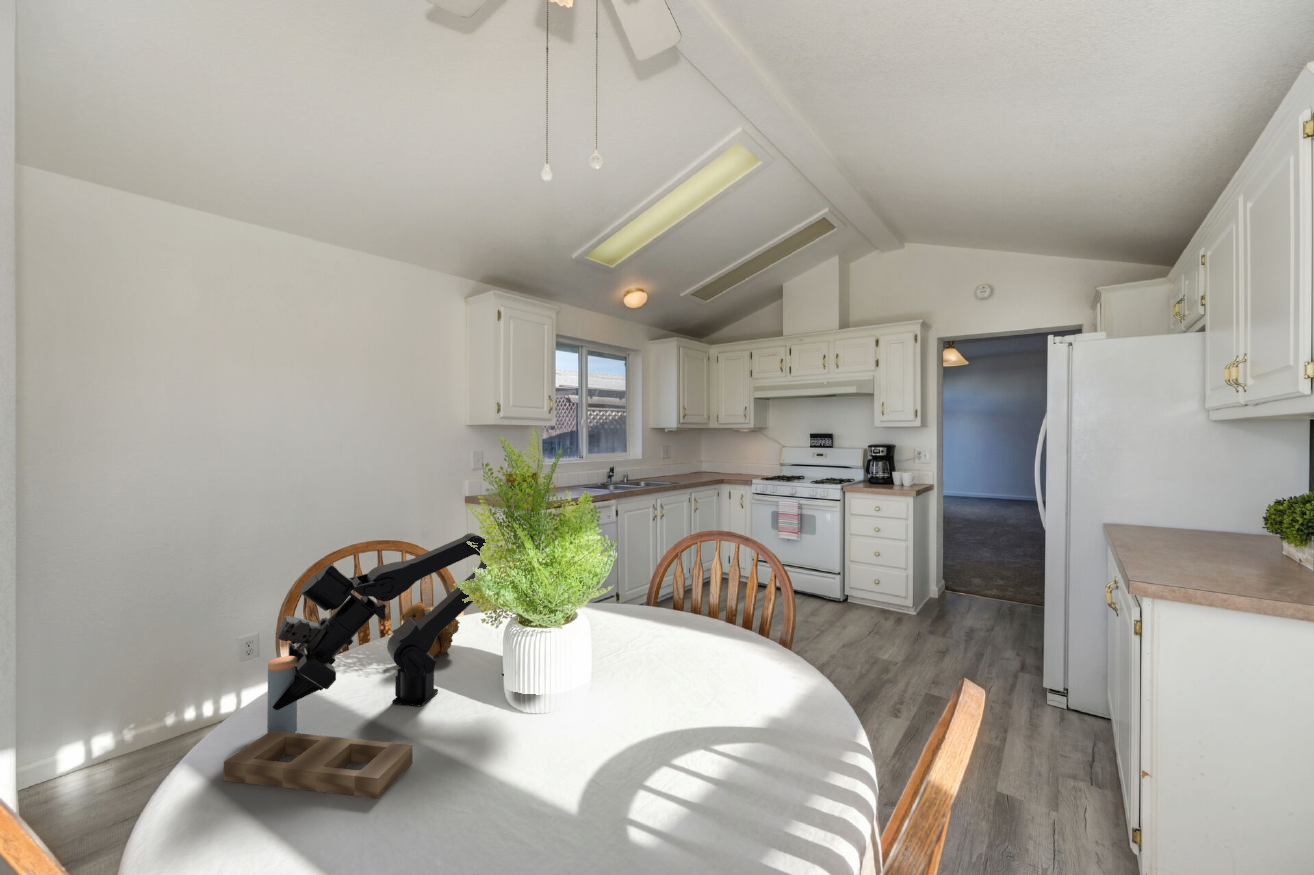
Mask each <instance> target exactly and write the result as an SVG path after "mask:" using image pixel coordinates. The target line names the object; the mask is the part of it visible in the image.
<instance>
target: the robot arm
mask: <svg viewBox="0 0 1314 875" xmlns="http://www.w3.org/2000/svg"><path fill="white" fill-rule="evenodd" d="M485 539H486V538H483V537H481V536H480V535H478V534H476V533H473V532H470V533H466V534H465V535H463V536H462V537H459V538H458V539H456V540H453V541H450V542H448V543H446V544H443V545H440V546H439V547H437V548H434V549H432V550H429V551H427V552H425V553H423V554H421V555H418V556H416V557H414V558H411V559H408V560H401V561H394V562H390V563H386V564H382V565H377V566H376V567H374V568H372V569H371V570H369V571H368V573H364V574H361V575H357V576H352V577H347V576H346V575H344V574H343V573H342V572H340V570H338V568H337V567H336V566H335V565H333V564H332V563H328V564H327V565H326V567H324V568H322V569H320V570H319V571H317V572H316V573H313V574H312V575H311V577H309V578H308V579H306V582H305V583H304V584H303V585H302V586H301V588H300V590H299V594H300V595H301V596H303V597H304V598H305V599H307V600H309V601H310V602H311V603H313V604H314V605H316V606H317V607H319V608H320V609H321V610H323V611H325V612H327V611H328V610H329V611H330V610H331V611H334V612H333V613H332V615H330V616H329V618H328V617H323V618H321V619H320V620H319V621H318V622H315V621H311V620H309V619H308V620H307V619H304V618H301V617H300V618H299V617H295V616H292V615H285V617H284V618H283V621H282V622H281V625H280V626H279V628H278V630H277V632H276V634H277V639H278V640H280V641H283V642H288V644H287V645H288V648H287V649H288V656H295V657H297V667H296V666H295V665H294V675H293V679H292V680H291V682H290V683H289V684H288V686H287V687H286V688H285V690H284V691H283V692H282V694H281V695H280V696H279V698H278V699H277V700H276V702H275V703H274V705H273V706H272V708H273V709H275V710H279V709H281V708H283V707H285V706H287V705H289V704H291V703H293V702H295V701H297V702H298V700H301V699H303V698H305V697H308V696H309V695H311V694H314V693H316V692H318V691H322V690H324V689H325V690H328V689H329V688H330V687H331V686H332V685H333V684H334V683H335V682H336V680H337V672H336V669H335V667H334V665H333V664H334V663H335V662H336V661H337V660H336V656H337V654H339V652H341V651H342V649H343V648H344V647H345V646H346V645H347V646H348V647H349V646H351V645H352V643H354V639H353V638H354V637H355V636H356V635H357V633H358V632H359V631H360V630H361V629H362V628H363V627H364V626H365V625H366V624H367V623H368V622H369V621H370V620H371V619H372V618H373V617H374V616H377V617H378V618H379V619H380V620H383V621H384V620H385V619H386V618H387V617H386V609H387V608H386V607H387V604H386V602H389V601H393V600H394V599H396V598H397V597H399V596H401V594H403V593H405V592H407V590H409V589H410V588H411V587H413V585H414V584H416V583H417V582H418V581H420V580H421V579H423V578H425V577H428V576H429V575H433V574H434V573H437V572H438V571H441V570H442V569H443V570H444V568H447V567H449V566H451V565H453V564H456V563H459V562H460V561H462V560H465V559H466V558H470V557H471V556H473V555H477V556H479V557H481V556H480V553H479V552H478V551H477V550H476V549H475V548H477V549H478V550H479V551H480V548H481V547H482V546H484V545H483V543H486V542H485ZM467 541H470V542H474V543H478V544H473V543H472V545H477V546H478V547H475V548H473V547H471V546H470V545H468V544H467V543H466V542H467ZM486 567H487V566H486V564H484V563H483V562H482V560H481V561H480V563H479V565H478V567H477V569H479V568H483V569H486ZM474 578H475V573H474V572H472V573H471V574H470V575H469V576H468V577H467V578H466V579H465V580H464V581H467V580H470V579H474ZM353 591H354V592H353ZM360 596H361V597H360ZM371 597H372V598H374V599H375V600H376V601H375V600H374V599H372V598H371ZM467 597H469V595H466V594H464V593H463V592H462V590H460V588H458V586H457V587H455V589H454V590H453V591H451V592H450V593H449V594H447V596H446V597H445V598H443V599H442V600H441V601H440V602H439V603H438V604H437V605H436V606H434V608H432V609H430V610H431V611H430V612H429V613H428V614H427V615H426V616H425V617H423V618H421V619H419V620H417V621H414V622H413V620H412V619H411V618H408V619H406V620H405V622H404V623H403V622H402V624H401V625H400V626H399V627H397V628H396V629H393V630H391V632H392V635H391V636H390V637H389V639H388V641H387V647H386V650H387V653H388V654H389V656H390V658H392V661H394V663H395V665H396V666H397V667H399V668H397V670H396V671H397V672H396V675H395V677H394V678H395V683H394V687H395V688H394V689H395V690H394V694H395V695H394V696H395V698H393V700H392V701H391V704H393V705H394V704H395V705H404V706H405V705H407V706H414V707H416V706H417V707H421V706H423V705H425V704H426V703H427V702H428V701H429V700H430V699H431V698H433V697H434V696H435V695H436V694H437V693H438V692H439V689H438V688H435V667H436V665H437V661H436V659H435V658H434V657H432V656H431V655H430V653H429V650H430V649H431V647H432V646H433V644H434V642H435V640H436V638H437V636H438V634H439V633H440V632H441V631H442V630H443V629H444V628H445V627H447V626H448V625H449V624H450V623H451V622H452V621H453V620H454V619H455V618H456V619H457V617H459V615H461V614H462V613H463V612H464V611H465V610H466V609H467V608H468V607H469V606H470V605H472V604H473V603H474V601H468V602H466V603H464V601H462V599H465V598H467ZM377 601H380V602H377ZM384 602H385V603H384ZM336 609H337V610H336Z"/></svg>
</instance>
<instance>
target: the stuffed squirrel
mask: <svg viewBox="0 0 1314 875" xmlns="http://www.w3.org/2000/svg"><path fill="white" fill-rule="evenodd" d="M431 610H432V609H430V608H428V606H426V605H425V604H424V603H423V601H421V600H419V601H418V602H417V603H415V604H412V605H411V606H410V607H409V608H407V609H406V610H405V611H404V612H403V614H402V615H401V617H400V618H399V620H400V621H399V624H401V623H402V624H403V623H404V622H405V620H406V619H408V618H411V619H412V620H413V622H414V621H417V620H419V619H421V618H423V617H425V616H426V615H427V614H428V613H429V612H430V611H431ZM460 623H461V622H460V621H459V620H458V619H457V617H456V618H455V619H454V620H453V621H452V622H451V623H450V624H449V625H448V626H447V627H445V628H444V629H443V630H442V631H441V632H440V633H439V634H438V636H437V638H436V640H435V642H434V644H433V646H432V647H431V649H430V650H429V653H430V655H431V656H432V657H433V658H434V657H435V655H436V656H441V655H442V654H445V653H446V652H447V651H448V650H449V649H451V647H452V643H453V635H455V634H457V633H458V632H459V630H460V629H459V628H460V626H459V625H461V624H460Z"/></svg>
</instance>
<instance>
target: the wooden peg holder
mask: <svg viewBox="0 0 1314 875" xmlns="http://www.w3.org/2000/svg"><path fill="white" fill-rule="evenodd" d="M413 748H414V746H413V744H410V743H409V744H408V743H406V744H405V743H398V742H388V741H379V740H369V739H367V740H366V739H360V738H349V737H339V736H328V735H318V734H309V733H299V732H295V733H291V732H281V731H270V732H269V733H267V732H266V734H264V735H262V736H261V737H259V738H258V739H256V740H255V741H253V742H252V743H250V744H249V745H247V746H245V747H244V748H242V749H241V750H239V751H238V752H236V753H234V754H233V755H232V756H230V757H228V758H226V759H225V760H223V781H225V782H233V783H243V784H252V785H260V786H268V787H278V788H284V789H285V788H287V789H292V790H293V789H295V790H303V791H309V792H320V793H330V794H335V795H337V794H338V795H344V796H352V797H353V796H354V797H362V798H371V799H379V798H380V797H381V795H383V794H384V793H385V791H387V790H388V789H389V788H390V787H391V786H392V785H393V784H394V783H395V781H397V780H398V778H399V777H400V776H402V774H404V773H405V771H406V770H407V769H409V767H410V766H411V765H412V764H413V756H414V755H413V751H414V750H413ZM285 755H288V756H296V757H295V758H294V759H293V760H291V761H290V762H285V761H278V760H280V759H281V758H282V757H284V756H285ZM352 762H353V763H363V764H366V765H365V766H363V768H361V769H360V770H359V769H358V770H357V769H348V768H345V767H346V766H347V765H349V763H352Z"/></svg>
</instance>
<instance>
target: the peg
mask: <svg viewBox="0 0 1314 875" xmlns="http://www.w3.org/2000/svg"><path fill="white" fill-rule="evenodd" d="M294 665H295V666H296V667H297V657H295V656H289V655H288V656H287V655H285V656H280V657H276V658H274V659H271V660H270V661H268V662H267V719H266V720H267V722H266V723H267V727H266V728H267V729H266V730H267V732H266V734H267V733H269V732H270V731H281V732H291V733H297V730H298V700H297V701H295V702H293V703H291V704H289V705H287V706H285V707H283V708H281V709H279V710H275V709H273V708H272V706H273V705H274V703H275V702H276V700H277V699H278V698H279V696H280V695H281V694H282V692H283V691H284V690H285V688H286V687H287V686H288V684H289V683H290V682H291V680H292V679H293V675H294Z"/></svg>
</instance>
